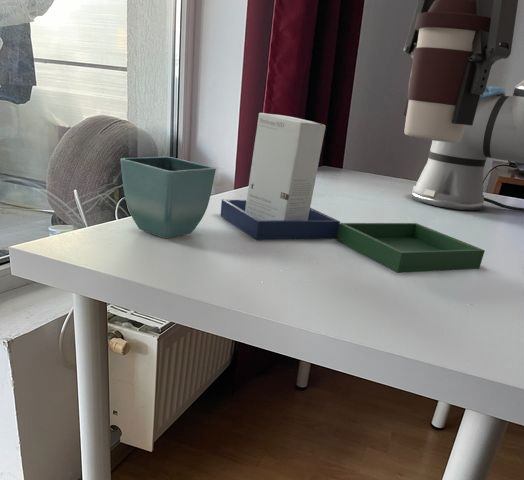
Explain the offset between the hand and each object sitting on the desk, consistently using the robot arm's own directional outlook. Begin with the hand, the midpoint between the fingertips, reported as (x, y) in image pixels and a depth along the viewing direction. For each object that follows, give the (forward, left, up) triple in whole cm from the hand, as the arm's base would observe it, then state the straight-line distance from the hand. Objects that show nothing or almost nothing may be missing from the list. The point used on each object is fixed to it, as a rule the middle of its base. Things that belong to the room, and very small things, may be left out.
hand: (436, 120), depth 70 cm
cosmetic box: (+13, -15, -17) cm, 26 cm away
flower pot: (+31, -12, -18) cm, 38 cm away
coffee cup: (0, 0, -3) cm, 3 cm away
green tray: (0, 0, -18) cm, 18 cm away
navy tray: (+13, -14, -18) cm, 26 cm away
